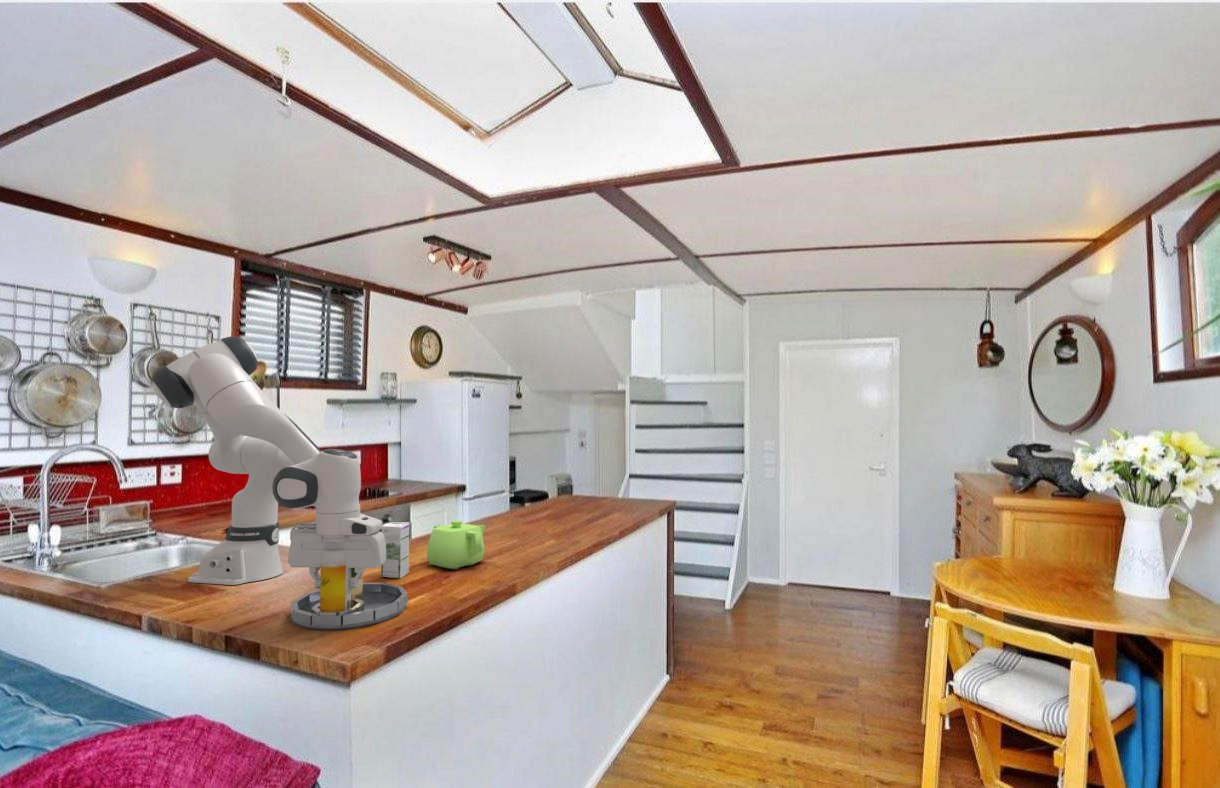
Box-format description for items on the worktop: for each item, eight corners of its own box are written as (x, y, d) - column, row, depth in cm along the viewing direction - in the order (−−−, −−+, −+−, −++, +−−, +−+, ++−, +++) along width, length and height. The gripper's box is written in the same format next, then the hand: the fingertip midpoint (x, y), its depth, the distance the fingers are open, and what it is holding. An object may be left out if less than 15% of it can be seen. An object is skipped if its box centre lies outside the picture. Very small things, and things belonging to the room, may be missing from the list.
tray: (268, 630, 125) (269, 596, 126) (322, 594, 149) (323, 566, 150) (383, 630, 126) (384, 596, 126) (419, 594, 150) (419, 566, 150)
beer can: (325, 613, 133) (326, 545, 133) (354, 612, 134) (355, 544, 134) (315, 622, 127) (316, 551, 127) (345, 622, 128) (346, 551, 128)
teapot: (463, 552, 194) (463, 512, 194) (507, 562, 182) (507, 518, 182) (414, 564, 179) (415, 520, 179) (459, 575, 167) (459, 528, 168)
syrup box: (409, 573, 169) (410, 521, 169) (400, 579, 163) (400, 525, 164) (390, 572, 170) (390, 521, 170) (380, 578, 164) (380, 525, 164)
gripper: (282, 526, 128) (281, 591, 128) (378, 526, 128) (377, 592, 128) (298, 520, 134) (296, 582, 134) (389, 521, 134) (388, 583, 134)
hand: (337, 587), depth 131 cm, fingers open, 6 cm apart
